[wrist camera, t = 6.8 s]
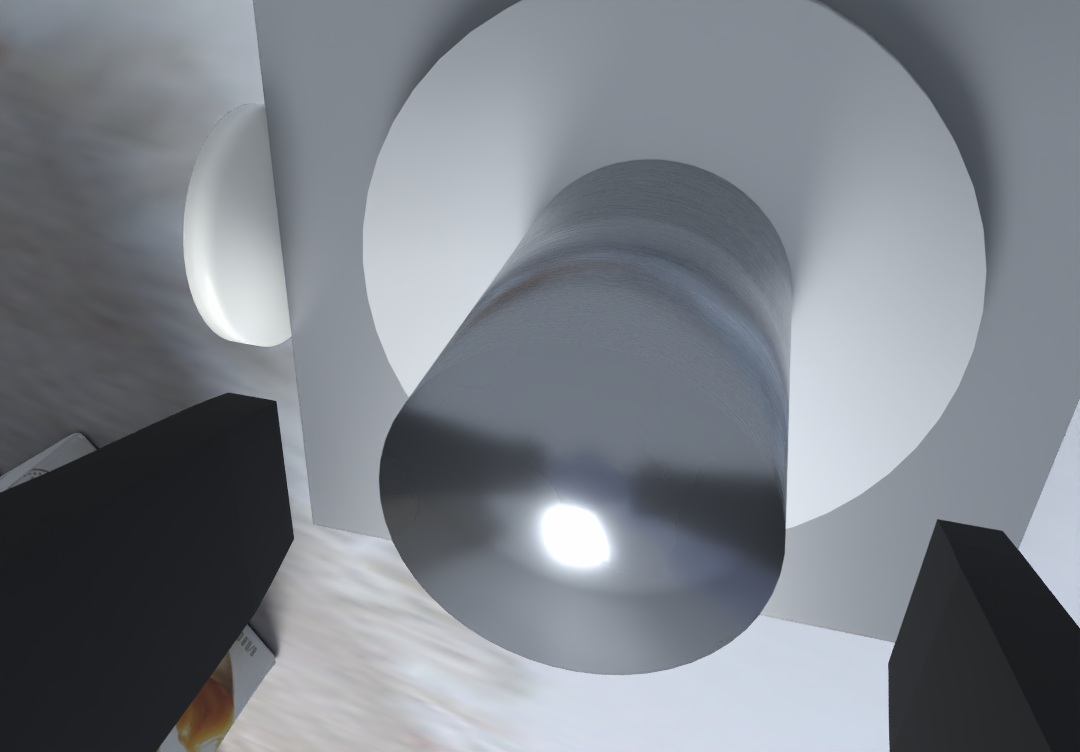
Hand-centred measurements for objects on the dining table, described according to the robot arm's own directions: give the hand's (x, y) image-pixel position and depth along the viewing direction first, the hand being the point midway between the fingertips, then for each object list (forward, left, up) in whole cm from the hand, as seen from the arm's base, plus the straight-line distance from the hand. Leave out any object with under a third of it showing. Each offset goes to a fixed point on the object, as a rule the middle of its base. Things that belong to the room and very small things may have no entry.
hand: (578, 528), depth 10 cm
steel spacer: (0, 0, -6) cm, 6 cm away
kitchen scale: (0, 0, -9) cm, 9 cm away
